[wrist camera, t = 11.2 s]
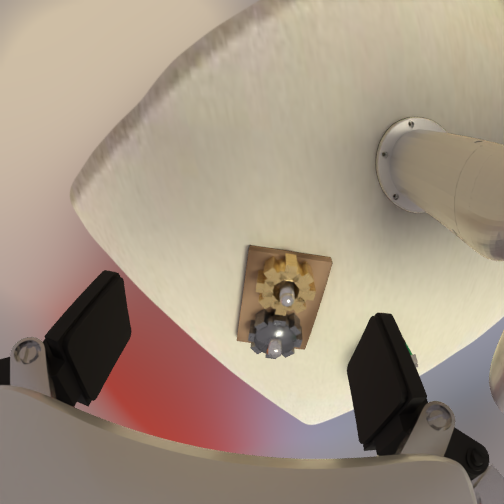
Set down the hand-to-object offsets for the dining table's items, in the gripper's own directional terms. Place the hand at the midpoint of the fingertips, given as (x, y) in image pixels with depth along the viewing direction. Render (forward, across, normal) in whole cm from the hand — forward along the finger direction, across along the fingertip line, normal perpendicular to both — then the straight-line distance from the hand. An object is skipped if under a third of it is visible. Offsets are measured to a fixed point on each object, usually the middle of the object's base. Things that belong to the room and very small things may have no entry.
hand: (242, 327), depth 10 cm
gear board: (+26, -4, +17) cm, 32 cm away
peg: (+25, -4, +12) cm, 28 cm away
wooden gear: (+25, -4, +12) cm, 28 cm away
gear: (+25, -4, +21) cm, 33 cm away
